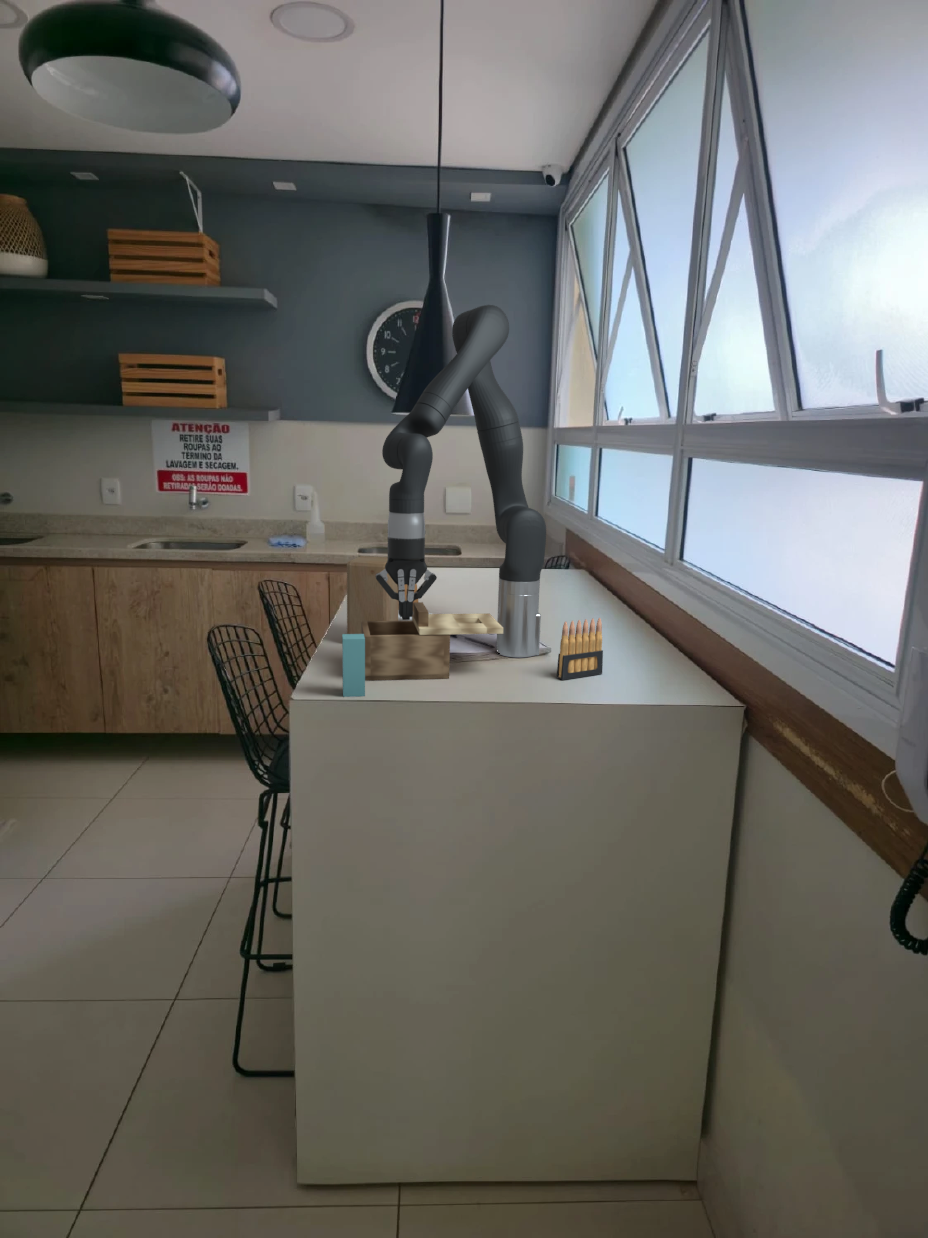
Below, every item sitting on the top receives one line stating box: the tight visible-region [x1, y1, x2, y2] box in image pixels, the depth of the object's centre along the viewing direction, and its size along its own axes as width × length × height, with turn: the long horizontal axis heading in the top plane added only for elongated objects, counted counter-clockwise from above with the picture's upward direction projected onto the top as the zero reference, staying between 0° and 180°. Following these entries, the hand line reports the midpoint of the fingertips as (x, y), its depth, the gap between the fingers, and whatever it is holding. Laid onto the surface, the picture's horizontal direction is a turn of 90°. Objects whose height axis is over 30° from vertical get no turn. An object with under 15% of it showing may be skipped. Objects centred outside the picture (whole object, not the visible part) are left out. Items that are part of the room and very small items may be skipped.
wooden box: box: [361, 621, 451, 682], centre depth 165 cm, size 17×14×9 cm
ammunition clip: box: [556, 617, 604, 681], centre depth 164 cm, size 11×2×12 cm, turn 120°
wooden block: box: [346, 555, 398, 634], centre depth 186 cm, size 10×10×20 cm
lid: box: [412, 601, 503, 635], centre depth 166 cm, size 17×14×4 cm
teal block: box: [341, 633, 366, 698], centre depth 149 cm, size 4×4×11 cm
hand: (405, 618), depth 164 cm, fingers closed
